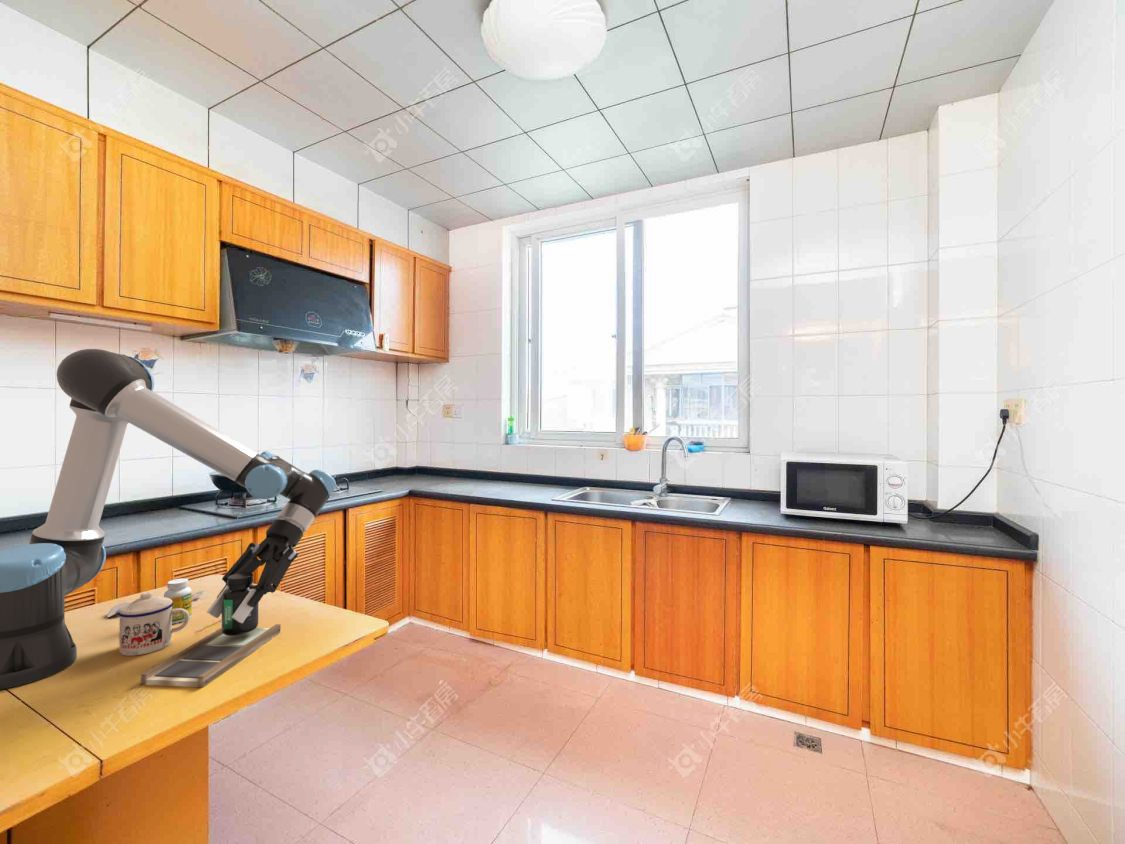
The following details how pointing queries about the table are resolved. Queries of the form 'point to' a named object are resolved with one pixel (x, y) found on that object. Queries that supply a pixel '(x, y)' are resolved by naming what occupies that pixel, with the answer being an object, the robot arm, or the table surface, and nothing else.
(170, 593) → the supplement bottle
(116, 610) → the stirrer
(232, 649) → the window panel
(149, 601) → the teacup with lid
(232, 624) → the supplement bottle
